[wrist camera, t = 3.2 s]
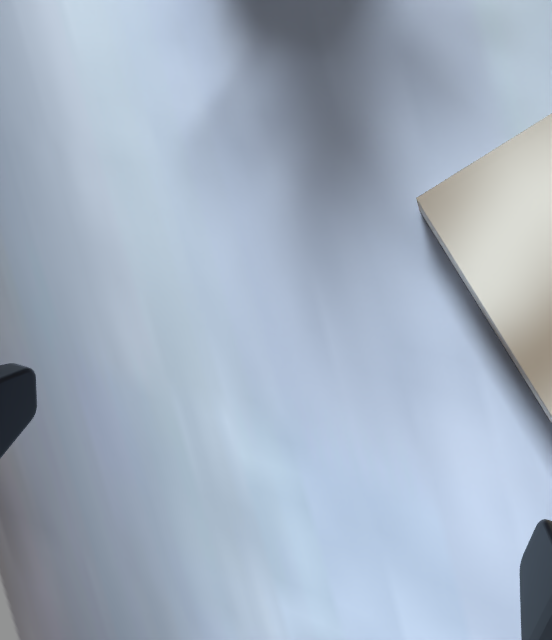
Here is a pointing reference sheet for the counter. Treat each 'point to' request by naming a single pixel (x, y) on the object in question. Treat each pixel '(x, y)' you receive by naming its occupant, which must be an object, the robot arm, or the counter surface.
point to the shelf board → (505, 245)
